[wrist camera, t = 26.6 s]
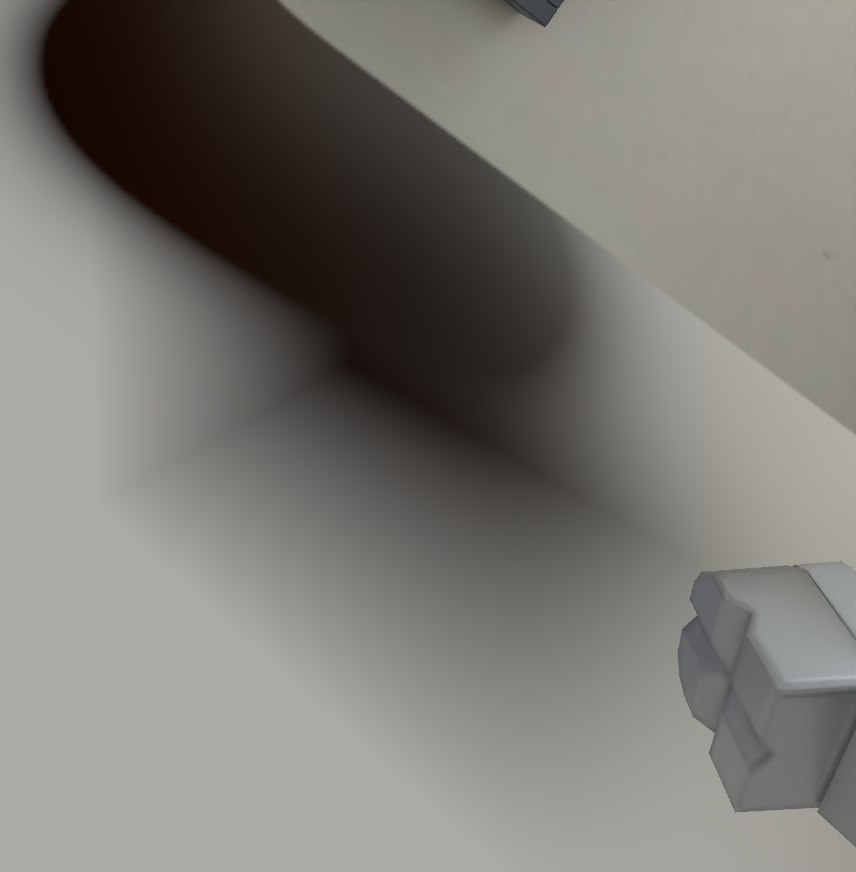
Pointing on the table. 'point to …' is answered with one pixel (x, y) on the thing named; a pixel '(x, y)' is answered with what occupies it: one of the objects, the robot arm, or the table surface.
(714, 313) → the table surface
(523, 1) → the holder
